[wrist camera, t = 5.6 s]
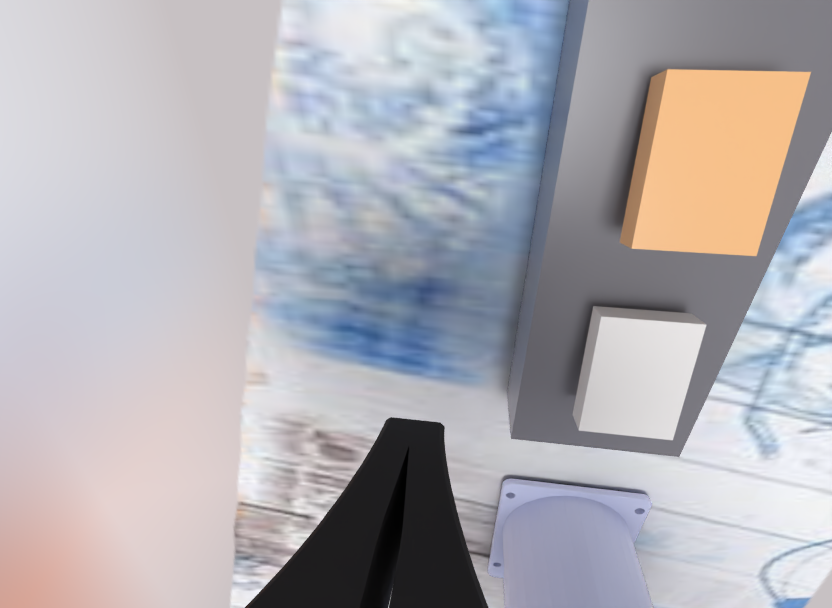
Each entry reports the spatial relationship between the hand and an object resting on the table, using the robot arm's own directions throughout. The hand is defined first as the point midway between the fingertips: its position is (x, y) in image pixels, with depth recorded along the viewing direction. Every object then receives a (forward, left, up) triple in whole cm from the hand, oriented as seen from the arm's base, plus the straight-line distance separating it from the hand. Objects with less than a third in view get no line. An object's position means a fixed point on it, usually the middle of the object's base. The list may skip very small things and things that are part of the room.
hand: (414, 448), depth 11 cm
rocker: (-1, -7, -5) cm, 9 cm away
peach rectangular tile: (+6, -7, -5) cm, 11 cm away
